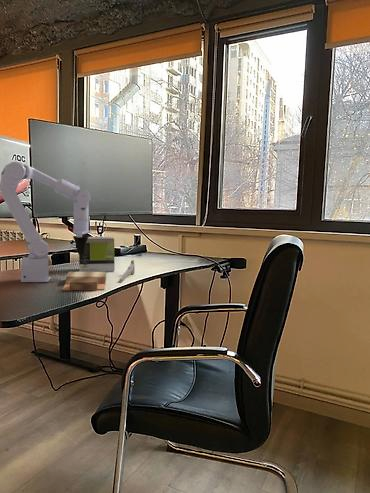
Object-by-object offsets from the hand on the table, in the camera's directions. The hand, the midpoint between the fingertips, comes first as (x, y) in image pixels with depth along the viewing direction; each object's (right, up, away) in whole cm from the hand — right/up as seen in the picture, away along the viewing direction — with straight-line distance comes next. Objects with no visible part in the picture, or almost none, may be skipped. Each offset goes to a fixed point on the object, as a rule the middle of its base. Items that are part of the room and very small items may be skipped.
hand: (81, 254), depth 156 cm
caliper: (+18, -10, +3) cm, 21 cm away
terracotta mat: (+6, -11, -17) cm, 21 cm away
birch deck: (+4, -10, -7) cm, 13 cm away
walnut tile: (+6, -10, -19) cm, 23 cm away
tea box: (+2, -8, +19) cm, 20 cm away
